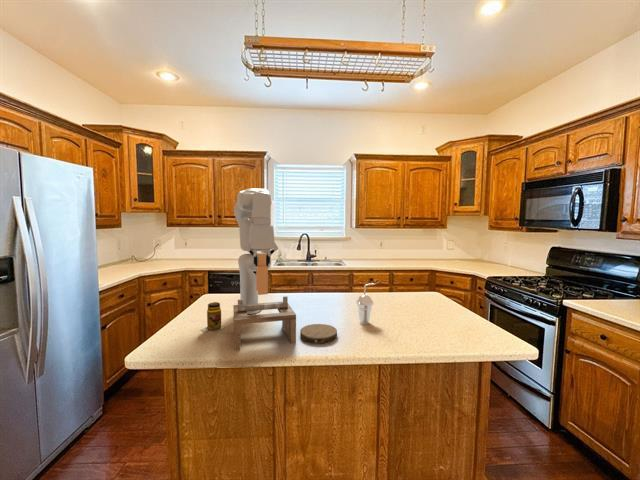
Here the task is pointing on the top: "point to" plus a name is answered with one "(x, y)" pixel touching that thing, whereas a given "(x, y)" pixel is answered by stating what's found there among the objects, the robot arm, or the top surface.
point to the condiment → (213, 318)
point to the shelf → (265, 317)
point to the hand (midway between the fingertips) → (261, 265)
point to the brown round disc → (318, 334)
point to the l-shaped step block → (262, 275)
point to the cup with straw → (364, 306)
